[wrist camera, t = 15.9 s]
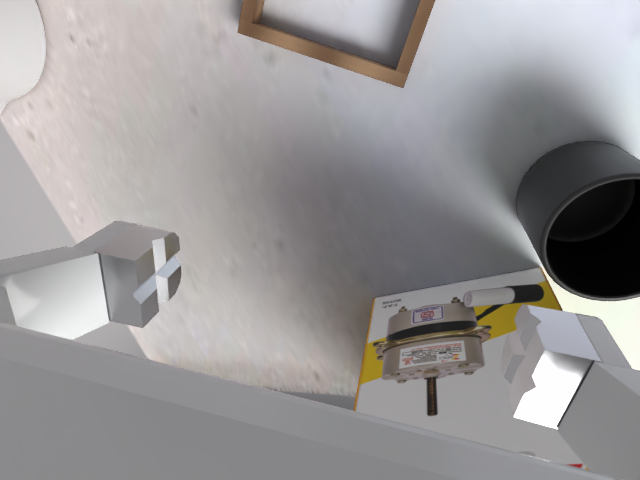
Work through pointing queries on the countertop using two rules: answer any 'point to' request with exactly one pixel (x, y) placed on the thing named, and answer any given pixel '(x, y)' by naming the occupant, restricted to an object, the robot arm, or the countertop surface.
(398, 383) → the packaging box
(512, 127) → the countertop surface
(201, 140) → the countertop surface
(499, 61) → the countertop surface
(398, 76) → the holder
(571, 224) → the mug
